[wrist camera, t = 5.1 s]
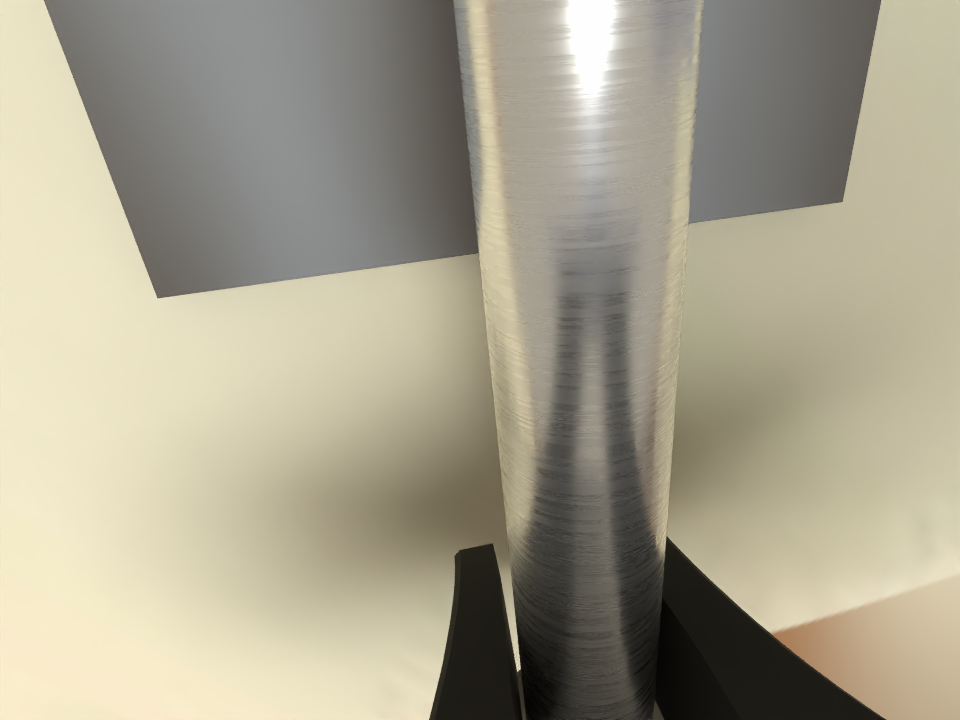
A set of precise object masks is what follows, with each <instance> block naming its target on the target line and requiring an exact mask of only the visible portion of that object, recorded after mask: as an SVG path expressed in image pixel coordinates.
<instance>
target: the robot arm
mask: <svg viewBox="0 0 960 720" xmlns="http://www.w3.org/2000/svg"><path fill="white" fill-rule="evenodd" d="M655 701H656V703H657V705H658V707H659V709H660V712H661V714H662V716H663V718H664V720H886V719H884V718H883V717H881V716H880V715H878V714H877V713H875V712H874V711H872V710H871V709H870V708H868V707H867V706H865V705H864V704H862V703H861V702H860V701H858V700H857V699H855V698H854V697H852V696H851V695H850V694H848V693H847V692H845V691H844V690H843V689H841V688H840V687H838V686H836V684H834V683H833V682H832V681H830V680H829V679H828V678H826V677H824V676H823V675H822V674H821V673H819V672H818V671H817V670H815V669H814V668H813V667H811V666H810V665H809V664H807V663H806V662H805V661H804V660H802V659H801V658H800V657H799V656H797V655H796V654H794V653H793V652H792V651H791V650H790V649H788V648H787V647H786V646H785V645H783V644H782V643H781V642H780V641H779V640H777V639H776V638H775V637H774V636H773V635H771V634H770V633H769V632H768V631H767V630H766V629H764V628H763V627H762V626H761V625H760V624H758V623H757V622H756V621H755V620H754V619H753V618H751V617H750V616H749V615H748V614H747V613H746V612H745V611H743V610H742V609H741V608H740V607H739V606H738V605H737V604H736V603H735V602H733V601H732V600H731V599H730V598H729V597H728V596H727V595H726V594H725V593H724V592H723V591H722V590H720V589H719V588H718V587H717V586H716V585H715V584H714V583H713V582H712V581H711V580H710V579H709V578H708V577H707V576H706V575H705V574H703V573H702V572H701V571H700V570H699V569H698V568H697V567H696V566H695V565H694V564H693V563H692V562H691V561H690V560H689V559H688V558H687V557H686V556H685V555H684V554H683V553H682V552H681V551H680V550H679V549H678V548H677V546H676V545H675V544H674V543H673V542H672V541H671V540H670V539H669V538H668V537H667V536H666V546H665V561H664V575H663V589H662V603H661V617H660V631H659V645H658V659H657V674H656V688H655ZM429 720H523V719H522V711H521V702H520V694H519V685H518V677H517V670H516V664H515V658H514V653H513V647H512V641H511V635H510V630H509V624H508V618H507V612H506V606H505V601H504V595H503V589H502V583H501V578H500V573H499V569H498V564H497V560H496V555H495V551H494V547H493V543H492V544H487V545H483V546H478V547H473V548H468V549H463V550H460V551H459V552H458V553H457V554H456V555H455V585H454V597H453V605H452V613H451V621H450V626H449V632H448V638H447V643H446V649H445V654H444V660H443V665H442V669H441V673H440V678H439V682H438V686H437V690H436V694H435V698H434V702H433V707H432V711H431V715H430V718H429Z"/></svg>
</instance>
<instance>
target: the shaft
mask: <svg viewBox="0 0 960 720" xmlns="http://www.w3.org/2000/svg"><path fill="white" fill-rule="evenodd" d="M453 2H454V12H455V21H456V31H457V41H458V51H459V61H460V71H461V81H462V91H463V101H464V111H465V120H466V130H467V140H468V150H469V160H470V170H471V180H472V190H473V200H474V210H475V220H476V229H477V239H478V249H479V259H480V269H481V279H482V289H483V299H484V309H485V319H486V328H487V338H488V348H489V358H490V368H491V378H492V388H493V398H494V408H495V418H496V427H497V437H498V447H499V457H500V467H501V477H502V487H503V497H504V507H505V517H506V526H507V536H508V546H509V556H510V566H511V576H512V586H513V596H514V606H515V616H516V626H517V635H518V645H519V655H520V665H521V669H520V670H519V671H518V672H517V677H518V685H519V694H520V702H521V711H522V719H523V720H664V718H663V716H662V714H661V712H660V709H659V707H658V705H657V703H656V701H655V688H656V674H657V659H658V645H659V631H660V617H661V603H662V589H663V575H664V561H665V546H666V532H667V518H668V504H669V490H670V476H671V462H672V447H673V433H674V419H675V405H676V391H677V377H678V363H679V349H680V334H681V320H682V306H683V292H684V278H685V264H686V250H687V236H688V221H689V207H690V193H691V179H692V165H693V151H694V137H695V123H696V108H697V94H698V80H699V66H700V52H701V38H702V24H703V10H704V0H453Z"/></svg>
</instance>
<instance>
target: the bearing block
mask: <svg viewBox="0 0 960 720" xmlns="http://www.w3.org/2000/svg"><path fill="white" fill-rule="evenodd" d="M44 2H45V4H46V7H47V10H48V12H49V15H50V17H51V20H52V23H53V25H54V28H55V31H56V33H57V36H58V38H59V41H60V44H61V46H62V49H63V52H64V54H65V57H66V59H67V62H68V65H69V67H70V70H71V73H72V75H73V78H74V80H75V83H76V86H77V88H78V91H79V93H80V96H81V99H82V101H83V104H84V107H85V109H86V112H87V114H88V117H89V120H90V122H91V125H92V128H93V130H94V133H95V135H96V138H97V141H98V143H99V146H100V149H101V151H102V154H103V156H104V159H105V162H106V164H107V167H108V170H109V172H110V175H111V177H112V180H113V183H114V185H115V188H116V191H117V193H118V196H119V198H120V201H121V204H122V206H123V209H124V211H125V214H126V217H127V219H128V222H129V225H130V227H131V230H132V232H133V235H134V238H135V240H136V243H137V246H138V248H139V251H140V253H141V256H142V259H143V261H144V264H145V267H146V269H147V272H148V274H149V277H150V280H151V282H152V285H153V288H154V290H155V293H156V295H157V298H163V297H170V296H177V295H185V294H192V293H199V292H206V291H213V290H220V289H227V288H234V287H241V286H249V285H256V284H263V283H270V282H277V281H284V280H291V279H298V278H305V277H312V276H320V275H327V274H334V273H341V272H348V271H355V270H362V269H369V268H376V267H383V266H391V265H398V264H405V263H412V262H419V261H426V260H433V259H440V258H447V257H454V256H462V255H469V254H476V253H479V249H478V239H477V229H476V220H475V210H474V200H473V190H472V180H471V170H470V160H469V150H468V140H467V130H466V120H465V111H464V101H463V91H462V81H461V71H460V61H459V51H458V41H457V31H456V21H455V12H454V2H453V0H44ZM880 4H881V0H704V10H703V24H702V38H701V52H700V66H699V80H698V94H697V108H696V123H695V137H694V151H693V165H692V179H691V193H690V207H689V221H688V224H689V223H696V222H703V221H710V220H717V219H724V218H731V217H739V216H746V215H753V214H760V213H767V212H774V211H781V210H788V209H795V208H802V207H810V206H817V205H824V204H831V203H838V202H843V197H844V191H845V186H846V181H847V176H848V170H849V165H850V160H851V155H852V150H853V144H854V139H855V134H856V129H857V124H858V118H859V113H860V108H861V103H862V98H863V92H864V87H865V82H866V77H867V72H868V66H869V61H870V56H871V51H872V46H873V40H874V35H875V30H876V25H877V19H878V14H879V9H880Z"/></svg>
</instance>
